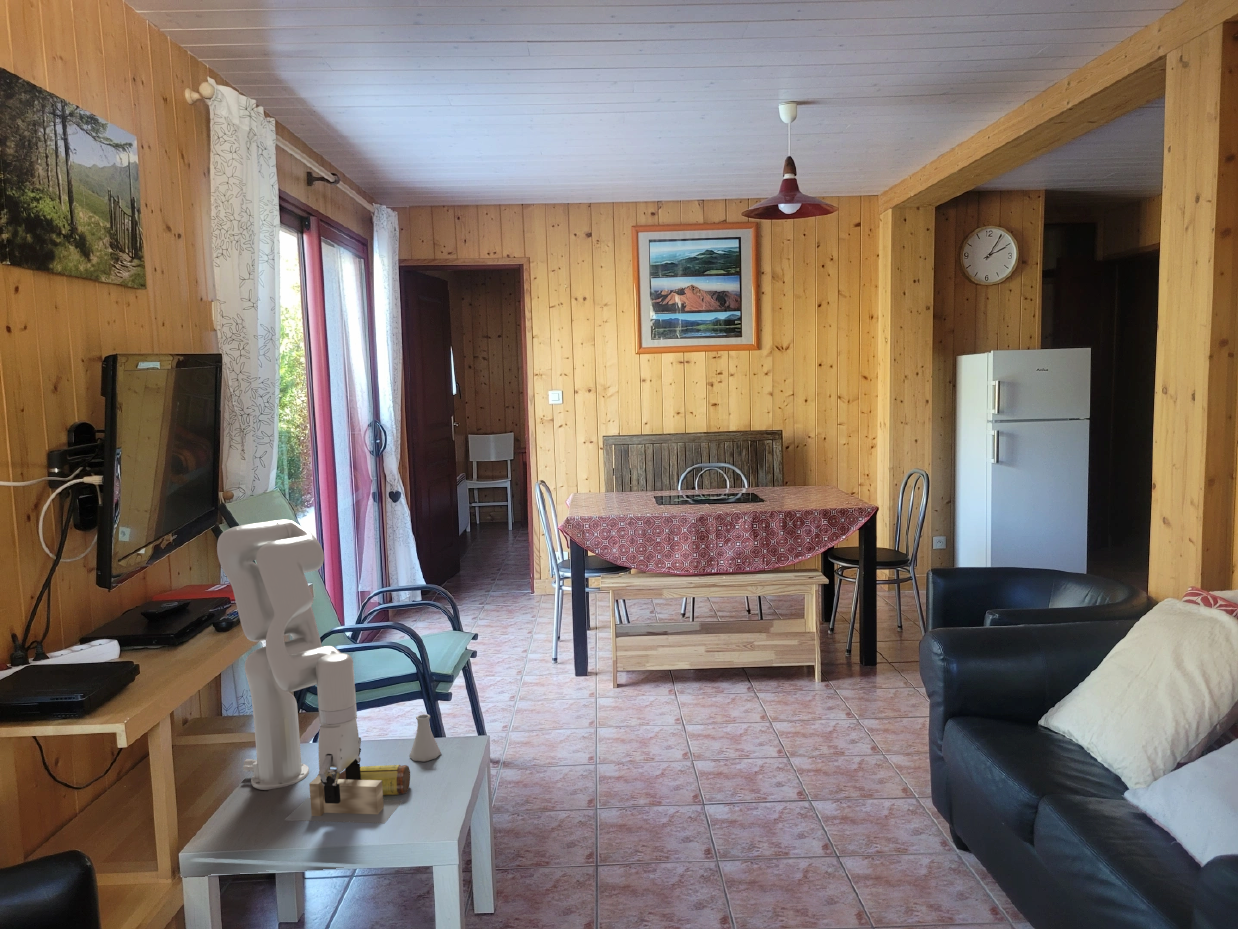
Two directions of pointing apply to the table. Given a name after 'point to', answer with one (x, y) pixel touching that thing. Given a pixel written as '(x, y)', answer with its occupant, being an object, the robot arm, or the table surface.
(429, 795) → the table surface
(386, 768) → the sauce bottle
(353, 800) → the beige t-shaped block
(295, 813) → the mat
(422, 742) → the flask
